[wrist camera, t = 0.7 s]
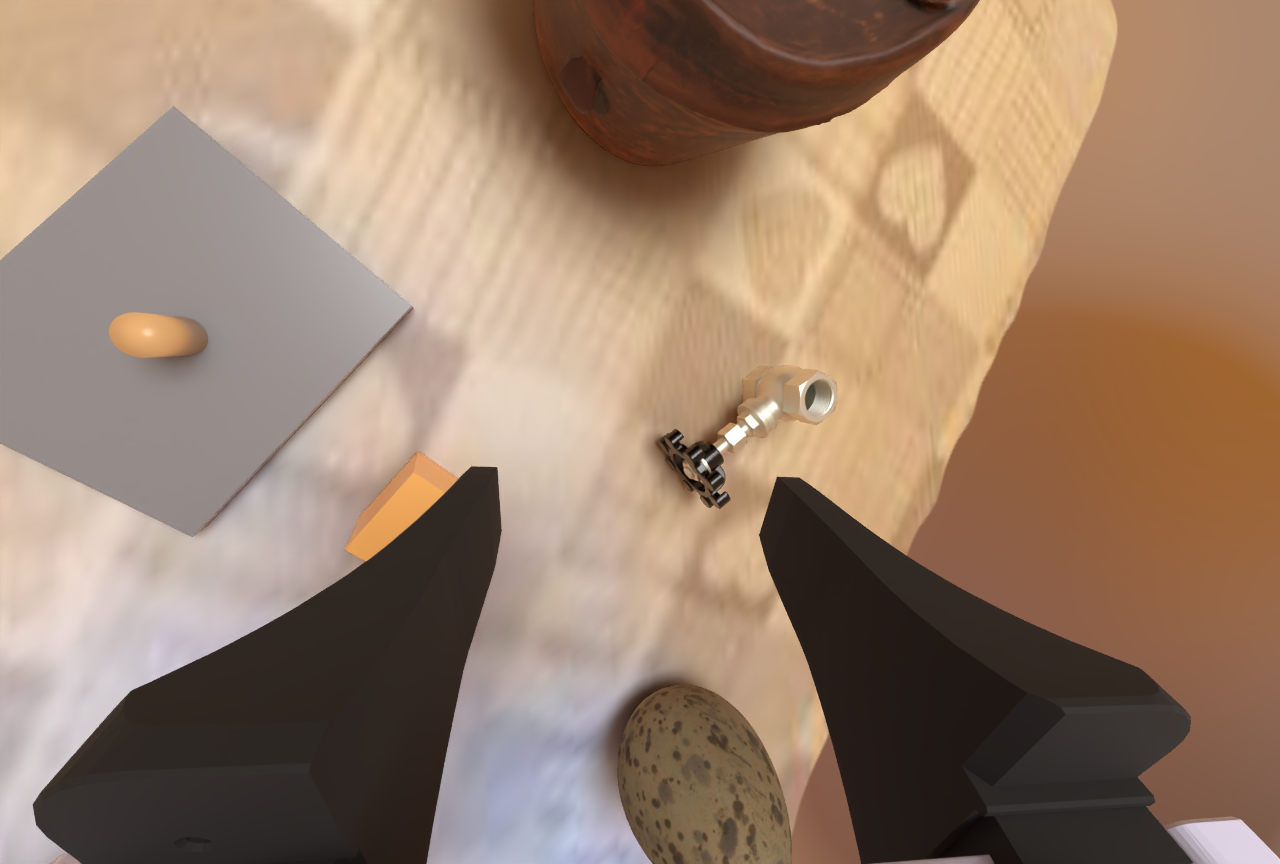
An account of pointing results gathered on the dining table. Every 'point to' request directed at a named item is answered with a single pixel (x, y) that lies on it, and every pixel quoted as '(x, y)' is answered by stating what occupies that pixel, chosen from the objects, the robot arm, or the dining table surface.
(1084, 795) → the robot arm
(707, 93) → the brown tapered pot
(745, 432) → the valve
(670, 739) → the decorative egg
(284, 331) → the plate
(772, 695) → the dining table surface
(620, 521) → the dining table surface
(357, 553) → the light orange cube
